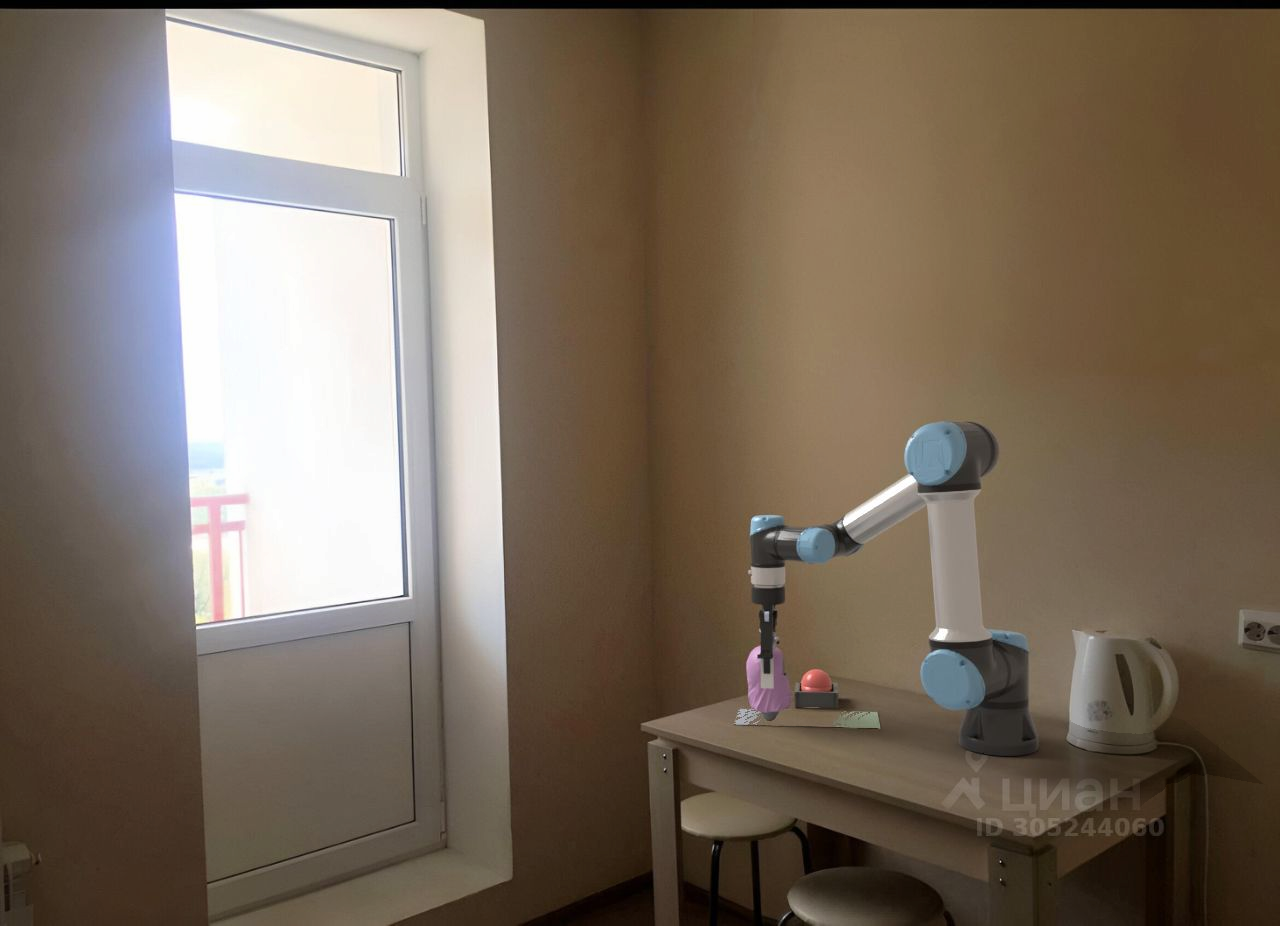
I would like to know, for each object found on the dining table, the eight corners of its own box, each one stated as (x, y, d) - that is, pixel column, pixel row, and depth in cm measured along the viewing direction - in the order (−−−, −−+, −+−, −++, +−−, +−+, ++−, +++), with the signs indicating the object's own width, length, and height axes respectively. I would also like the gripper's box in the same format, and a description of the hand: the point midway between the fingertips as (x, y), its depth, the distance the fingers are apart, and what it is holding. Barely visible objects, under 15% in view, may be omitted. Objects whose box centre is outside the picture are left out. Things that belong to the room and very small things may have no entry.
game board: (880, 729, 224) (880, 728, 224) (734, 725, 229) (734, 724, 229) (877, 712, 237) (877, 712, 237) (739, 709, 242) (739, 708, 242)
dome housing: (838, 709, 241) (838, 692, 241) (794, 708, 242) (794, 692, 242) (837, 698, 250) (837, 682, 250) (796, 697, 252) (795, 682, 252)
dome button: (832, 703, 242) (831, 673, 242) (801, 702, 244) (800, 672, 243) (831, 696, 249) (831, 666, 249) (801, 695, 250) (801, 666, 250)
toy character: (797, 724, 228) (795, 632, 228) (749, 725, 228) (747, 633, 228) (790, 709, 240) (788, 622, 240) (745, 710, 241) (743, 623, 240)
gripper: (754, 577, 246) (755, 667, 247) (746, 593, 222) (747, 694, 223) (787, 577, 245) (788, 668, 246) (782, 594, 221) (783, 695, 221)
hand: (768, 680), depth 234 cm, fingers open, 13 cm apart
